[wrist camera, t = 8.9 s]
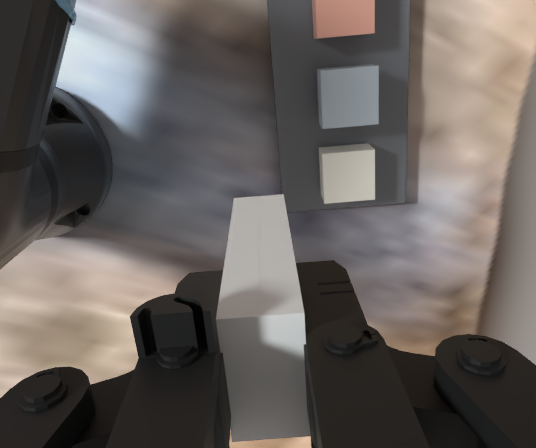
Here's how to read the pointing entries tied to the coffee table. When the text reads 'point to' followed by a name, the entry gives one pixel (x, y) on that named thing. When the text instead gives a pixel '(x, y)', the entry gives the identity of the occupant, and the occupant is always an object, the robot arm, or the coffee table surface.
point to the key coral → (343, 18)
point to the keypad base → (306, 100)
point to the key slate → (348, 96)
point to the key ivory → (347, 173)
